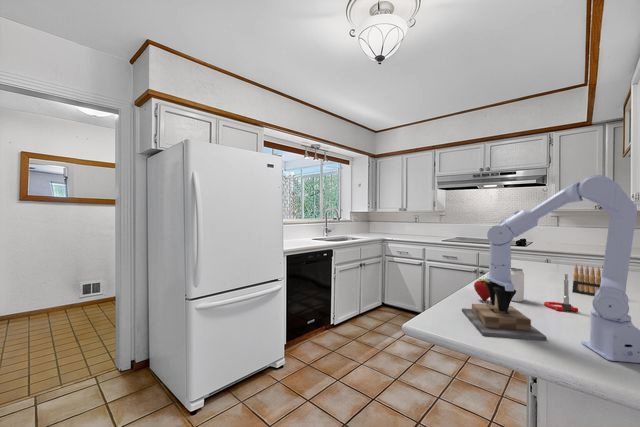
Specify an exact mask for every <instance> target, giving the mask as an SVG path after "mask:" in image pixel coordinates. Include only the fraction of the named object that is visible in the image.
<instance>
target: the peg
mask: <svg viewBox="0 0 640 427" xmlns="http://www.w3.org/2000/svg"><path fill="white" fill-rule="evenodd" d="M494 313H499V314H505V313H506V312H500V311H499V309H498V303H497V297H496V294H495V305H494Z"/></svg>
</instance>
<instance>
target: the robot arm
mask: <svg viewBox="0 0 640 427" xmlns="http://www.w3.org/2000/svg"><path fill="white" fill-rule="evenodd" d="M583 198H584V199H585V200H588V201H590V202H592V203H595V204H596V205H599V207H601V208H602V210H604V211H606V212H607V213H608V214H609V221H608V230H607V236H606V242H605V250H604V258H603V265H602V272H601V284H600V287H599V288H598V289H597V290H596V292H595V295H594V296H593V299H592V307H593V309H590V328H589V330H590V331H589V335H590V336H589V341H587V340H582V341H581V342H580V343H581V344H583V345H584V346H585V347H587V348H589V349H590V350H591V351H594V352H595V353H596V354H598V355H599V356H601V357H602V358H603V359H606V360H607V361H612V362H625V363H637V364H640V329H639V328H638V327H636V326H635V325H634V324H633V321H632V316H631V315H629V313H630V306H629V296H628V295H627V294H626V291H627V284H628V283H627V282H628V275H629V267H630V262H631V256H632V247H633V240H634V234H635V228H636V227H635V226H636V220H637V214H638V208H637V205H636V204H635V202H634V201H633V200H632V199H631V198H630V197H629V195H628V194H627V193H626V192H625V191H624V189H623V187H622V186H620V184H619V183H618V182H617V181H615V180H612V179H611V178H609V177H607V176H606V175H601V174H592V175H589V176H587V177H585V178H584V179H582V180H581V182H580V181H578V182H575V183H573V184H570V185H569V186H567V187H565V188H563V189H561V190H559V191H558V192H557V193H555V194H554V195H552V196H551V197H549V198H547V199H546V200H544V201H543V202H542V203H541V202H540V204H537V205H536V207H533V208H532V209H521V210H515V211H514V212H513V215H512V216H510V217H508V218H506V219H505V220H503V219H502V220H500V221H499V225H498V224H497V225H496V224H495V225H492V227H491V228H489V229H488V231H487V235H486V236H487V239H488V241H489V251H488V252H489V254H488V255H489V256H488V261H489V264H488V273H486V275H487V277H486V276H485V277H484V279H485V280H486V281H489V282H485V285H486V287H487V289H488V292H489V296H490V298H489V300H490V303H491V304H490V305H495V294H496V297H497V303H498V309H499V311H500V312H507V311H508V308H509V306H511V302H512V301H511V300H512V298H513V296H514V295H515V294H516V290H514V284H512V280H511V268H512V267H511V266H512V249H511V248H512V241H513V240H514V238H518V237H519V236H521V235H523V234H525V233H527V232H528V231H530V230H532V229H533V228H535V227H537V226H538V224H539V220H540V219H541V218H542V217H543V218H544V217H545V216H547V215H548V214H550V213H552V212H554V211H555V210H558V209H560V208H562V207H563V206H566V205H567V204H569V203H570V204H571V203H577V202H578V203H579V202H583V201H584V199H583Z"/></svg>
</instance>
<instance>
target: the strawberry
mask: <svg viewBox="0 0 640 427" xmlns="http://www.w3.org/2000/svg"><path fill="white" fill-rule="evenodd" d="M485 282H489V281H486V280H485V278H478V280H476V281H475V282H474V284H473V288H474V290H475V292H476V293H477V295H478V296H479V297H480V298H481V300H483V301H485V302H486V301H487V300H488V299H490V296H489V292H488V289H487V287H486V285H485Z"/></svg>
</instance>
